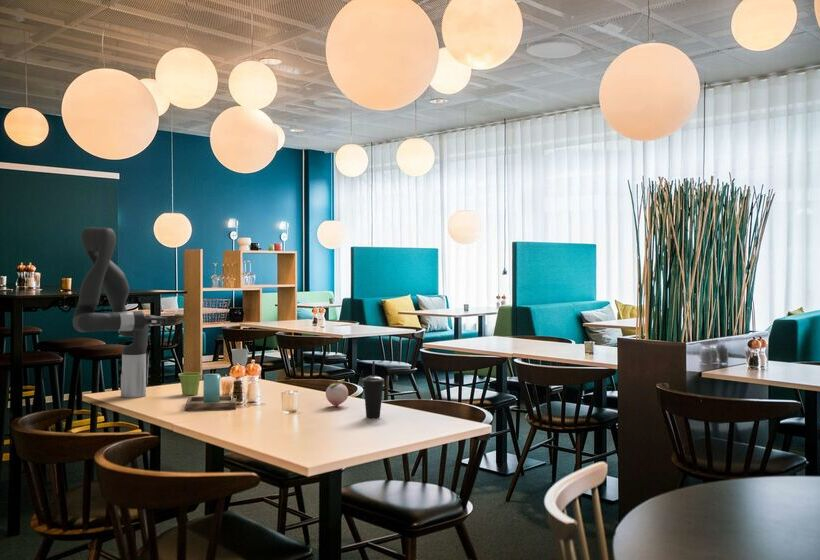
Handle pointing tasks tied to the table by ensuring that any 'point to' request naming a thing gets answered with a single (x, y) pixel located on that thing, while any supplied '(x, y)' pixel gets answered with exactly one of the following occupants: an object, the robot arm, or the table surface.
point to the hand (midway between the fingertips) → (171, 319)
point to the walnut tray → (210, 404)
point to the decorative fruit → (336, 393)
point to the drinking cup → (373, 394)
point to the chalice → (239, 356)
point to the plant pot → (190, 382)
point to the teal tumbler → (211, 388)
